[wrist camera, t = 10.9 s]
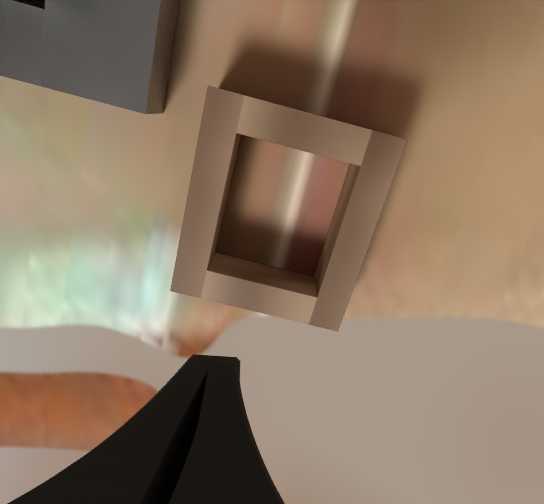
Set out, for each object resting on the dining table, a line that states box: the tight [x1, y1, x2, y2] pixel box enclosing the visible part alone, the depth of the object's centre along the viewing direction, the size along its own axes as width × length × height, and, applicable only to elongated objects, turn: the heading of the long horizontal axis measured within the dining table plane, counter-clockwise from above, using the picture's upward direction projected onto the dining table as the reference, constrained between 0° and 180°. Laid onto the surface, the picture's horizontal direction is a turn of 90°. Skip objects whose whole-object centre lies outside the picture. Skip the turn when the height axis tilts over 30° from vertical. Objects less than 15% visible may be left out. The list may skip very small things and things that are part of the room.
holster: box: [170, 86, 407, 331], centre depth 19 cm, size 8×9×2 cm
